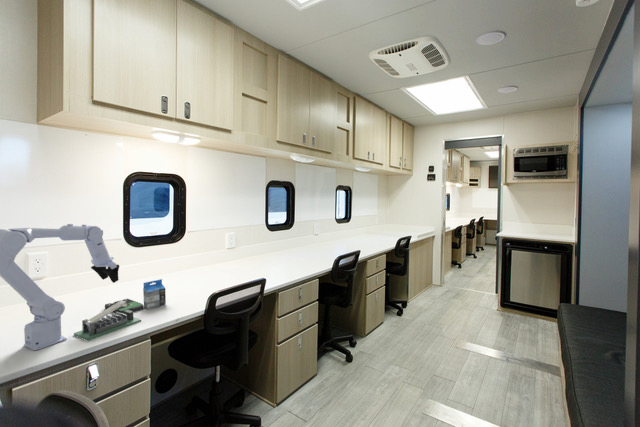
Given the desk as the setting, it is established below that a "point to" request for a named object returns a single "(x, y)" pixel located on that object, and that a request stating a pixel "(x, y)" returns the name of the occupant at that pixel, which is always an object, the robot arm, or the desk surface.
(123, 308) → the disk drive
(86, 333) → the board
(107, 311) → the strap
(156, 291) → the label tape box
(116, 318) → the heat sink
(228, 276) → the desk surface
